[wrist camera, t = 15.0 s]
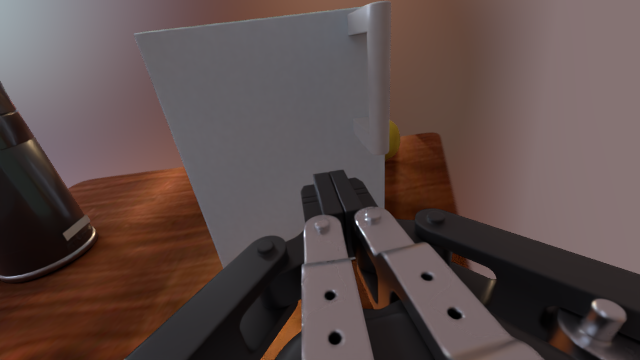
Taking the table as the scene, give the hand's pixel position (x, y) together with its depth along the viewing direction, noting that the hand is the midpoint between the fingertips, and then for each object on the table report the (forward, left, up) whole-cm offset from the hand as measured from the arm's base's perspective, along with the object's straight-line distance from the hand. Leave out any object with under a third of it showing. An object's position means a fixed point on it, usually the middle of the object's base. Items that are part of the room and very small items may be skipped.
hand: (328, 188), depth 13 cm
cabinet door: (-2, +6, -14) cm, 15 cm away
